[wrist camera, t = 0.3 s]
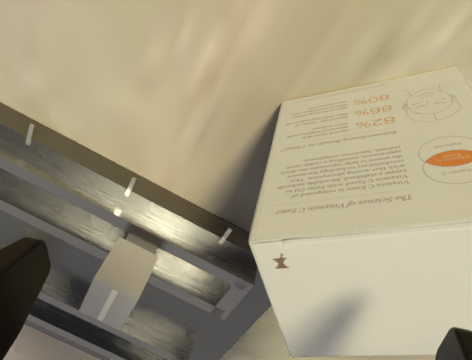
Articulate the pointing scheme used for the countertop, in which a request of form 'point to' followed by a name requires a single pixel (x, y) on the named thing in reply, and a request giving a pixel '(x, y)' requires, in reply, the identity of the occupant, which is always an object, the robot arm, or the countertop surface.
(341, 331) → the small box
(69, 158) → the panel
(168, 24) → the countertop surface
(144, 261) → the fader cap grey
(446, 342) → the robot arm
